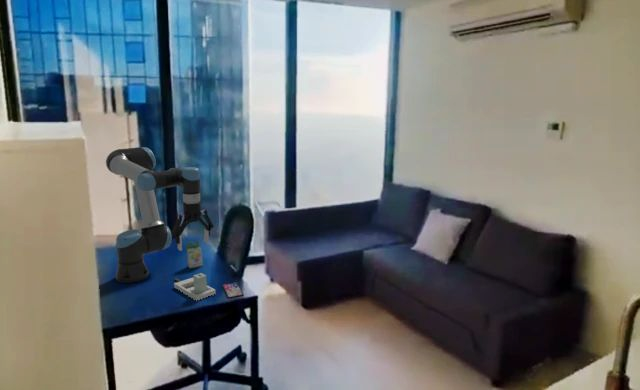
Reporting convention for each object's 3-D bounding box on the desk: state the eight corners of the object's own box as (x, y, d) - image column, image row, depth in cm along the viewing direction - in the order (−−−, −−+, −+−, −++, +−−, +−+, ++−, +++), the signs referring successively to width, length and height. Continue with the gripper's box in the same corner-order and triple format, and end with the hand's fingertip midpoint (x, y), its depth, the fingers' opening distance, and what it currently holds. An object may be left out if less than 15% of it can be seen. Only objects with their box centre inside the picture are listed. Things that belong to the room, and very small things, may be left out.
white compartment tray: (165, 282, 221) (165, 278, 221) (184, 276, 228) (184, 272, 228) (196, 301, 202) (196, 296, 201) (215, 294, 209) (215, 289, 208)
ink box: (189, 268, 238) (188, 244, 235) (187, 266, 242) (186, 242, 239) (202, 266, 242) (201, 242, 239) (200, 264, 245) (199, 240, 242)
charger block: (194, 293, 208) (193, 275, 206) (202, 290, 211) (201, 272, 209) (199, 296, 205) (198, 277, 203) (207, 293, 208) (206, 275, 206)
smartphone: (227, 297, 205) (221, 284, 218) (227, 299, 205) (221, 286, 218) (244, 294, 207) (237, 282, 221) (244, 296, 208) (237, 283, 221)
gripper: (169, 208, 192) (172, 255, 197) (220, 199, 209) (221, 242, 214) (161, 204, 197) (164, 250, 202) (211, 196, 214) (212, 238, 219)
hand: (193, 246), depth 208 cm, fingers open, 13 cm apart
